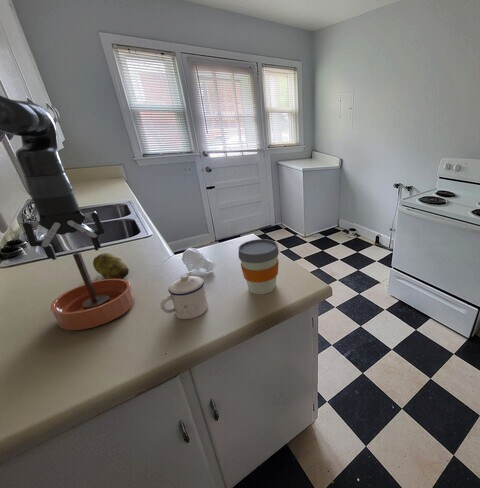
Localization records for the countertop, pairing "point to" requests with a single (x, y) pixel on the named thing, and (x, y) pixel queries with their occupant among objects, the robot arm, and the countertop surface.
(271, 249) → the reusable coffee cup
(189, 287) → the teacup with lid
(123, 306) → the bowl
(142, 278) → the countertop surface
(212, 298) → the countertop surface
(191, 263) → the crumpled white tissue
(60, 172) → the robot arm
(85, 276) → the wooden tamper
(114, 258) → the potato
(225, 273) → the countertop surface
